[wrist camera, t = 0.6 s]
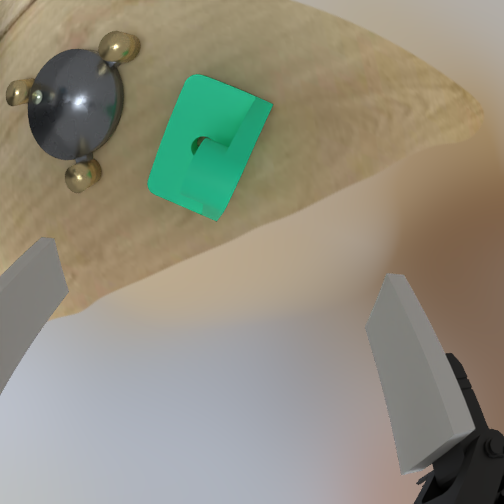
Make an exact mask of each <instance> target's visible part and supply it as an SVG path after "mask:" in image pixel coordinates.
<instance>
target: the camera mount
mask: <svg viewBox="0 0 504 504" xmlns="http://www.w3.org/2000/svg"><path fill="white" fill-rule="evenodd" d="M272 106H273V104H272V103H269V102H267V101H265V100H263V99H261V98H258V97H256V96H254V95H252V94H249V93H247V92H245V91H242V90H240V89H238V88H235V87H233V86H230V85H228V84H225V83H223V82H220V81H218V80H215V79H212V78H210V77H207V76H204V75H199V74H195V75H192V76H190V77H189V78H188V79H187V80H186V81H185V84H184V86H183V88H182V91H181V93H180V95H179V98H178V100H177V102H176V105H175V107H174V110H173V112H172V115H171V117H170V120H169V122H168V125H167V128H166V130H165V133H164V135H163V138H162V141H161V144H160V146H159V149H158V152H157V155H156V158H155V161H154V164H153V167H152V170H151V173H150V176H149V179H148V183H147V185H148V188H149V190H150V192H151V193H153V194H155V195H157V196H159V197H161V198H164V199H166V200H168V201H171V202H173V203H175V204H178V205H180V206H182V207H185V208H187V209H189V210H192V211H194V212H196V213H198V214H201V215H203V216H205V217H208V218H210V219H212V220H215V221H217V220H218V219H219V218H220V216H221V215H222V214H223V212H224V211H225V209H226V207H227V205H228V203H229V201H230V198H231V196H232V194H233V192H234V190H235V188H236V186H237V184H238V181H239V179H240V177H241V175H242V173H243V170H244V168H245V166H246V164H247V161H248V159H249V157H250V155H251V152H252V150H253V148H254V146H255V143H256V141H257V139H258V137H259V135H260V132H261V130H262V128H263V126H264V124H265V121H266V119H267V117H268V115H269V113H270V111H271V108H272ZM201 136H205V137H208V138H210V139H211V140H210V139H208V138H205V139H204V140H203V141H202V143H201V144H200V146H199V148H198V145H197V142H198V139H199V137H201Z"/></svg>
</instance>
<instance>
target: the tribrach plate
mask: <svg viewBox="0 0 504 504" xmlns="http://www.w3.org/2000/svg"><path fill="white" fill-rule="evenodd" d="M98 50H99V52H96V51H93V50H83V49H71V50H67V51H64V52H61V53H59V54H58V55H56V56H54V57H53V58H52V59H50V60H49V61H48V62H47V63H46V64H45V65H44V66H43V68H42V69H41V70H40V72H39V73H38V75H37V77H36V79H33V78H31V79H23V80H16V81H13V82H11V83H10V84H9V86H8V88H7V91H6V100H7V103H8V104H9V105H10V106H16V105H20V104H24V103H28V118H29V124H30V128H31V131H32V134H33V136H34V138H35V140H36V141H37V143H38V144H39V146H40V147H41V148H42V149H43V150H44V151H45V152H46V153H48V154H49V155H51V156H53V157H55V158H58V159H62V160H73V159H75V160H76V164H75V165H73V166H71V167H69V168H68V169H67V171H66V174H65V182H66V184H67V186H68V188H69V189H70V190H71V191H72V192H74V193H81V192H83V191H84V190H86V189H87V188H89V187H90V186H92V185H93V184H95V183H96V182H97V181H98V180H99V179H100V177H101V167H100V165H99V163H98V162H97V161H96V160H95V159H93V155H92V152H93V151H95V150H97V149H98V148H99V147H101V146H102V145H103V144H104V143H105V142H106V141H107V140H108V139H109V138H110V137H111V135H112V134H113V132H114V130H115V129H116V127H117V124H118V122H119V119H120V117H121V113H122V108H123V98H124V93H123V85H122V80H121V77H120V74H119V72H118V70H117V67H118V66H119V65H120V64H121V63H122V62H123V63H125V62H129V61H131V60H133V59H134V58H135V57H136V56H137V55H138V53H139V51H140V41H139V39H138V38H137V37H135V36H133V35H130V34H126V33H123V32H119V31H113V32H110V33H108V34H107V35H105V36H104V37H103V39H102V40H101V42H100V44H99V49H98Z"/></svg>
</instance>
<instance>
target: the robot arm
mask: <svg viewBox="0 0 504 504" xmlns="http://www.w3.org/2000/svg"><path fill="white" fill-rule="evenodd" d="M68 292H69V291H68V287H67V284H66V281H65V277H64V274H63V271H62V267H61V263H60V260H59V256H58V252H57V248H56V244H55V240H54V239H53V238H45V237H41V238H40V239H39V240H38V241H37V242H36V243H35V244H33V245H32V246H31V247H30V248H29V249H28V250H27V251H26V252H25V253H24V254H23V255H22V256H21V257H19V258H18V259H17V260H16V261H15V262H14V263H13V264H12V265H11V266H10V267H9V268H8V269H7V270H6V271H5V272H4V273H3V274H2V275H1V276H0V394H1V393H2V391H3V389H4V387H5V386H6V384H7V382H8V381H9V379H10V377H11V375H12V374H13V372H14V370H15V369H16V367H17V366H18V364H19V362H20V361H21V359H22V358H23V356H24V354H25V352H26V351H27V350H28V348H29V347H30V345H31V344H32V342H33V341H34V339H35V338H36V336H37V335H38V333H39V332H40V331H41V329H42V327H43V326H44V325H45V323H46V322H47V321H48V319H49V318H50V316H51V315H52V314H53V312H54V311H55V310H56V308H57V307H58V305H59V304H60V303H61V301H62V300H63V299H64V297H65V296H66V295H67V294H68ZM365 329H366V332H367V336H368V339H369V342H370V346H371V349H372V353H373V356H374V360H375V363H376V367H377V370H378V374H379V378H380V381H381V385H382V389H383V393H384V397H385V401H386V405H387V409H388V413H389V417H390V422H391V426H392V431H393V435H394V440H395V445H396V450H397V455H398V460H399V465H400V471H401V475H405V474H409V473H414V472H418V471H422V470H423V469H425V468H426V467H428V466H429V465H431V464H433V468H434V470H433V471H431V472H430V473H428V474H427V475H425V476H424V477H422V478H421V479H419V481H418V482H417V483H416V484H418V485H419V484H421V483H423V482H424V481H426V482H425V484H424V485H423V486H422V487H423V488H422V489H421V492H420V493H419V495H418V497H417V499H416V500H415V502H414V504H504V436H503V435H502V434H501V433H500V432H499V431H498V430H494V429H489V428H488V426H487V424H486V421H485V418H484V416H483V413H482V411H481V408H480V405H479V403H478V401H477V399H476V396H475V393H474V391H473V390H472V389H471V387H472V386H471V384H470V382H469V380H468V379H467V375H466V373H465V371H464V368H463V366H462V364H461V363H460V362H459V361H458V360H457V358H456V357H455V356H454V355H453V354H452V353H446V354H445V353H444V350H443V349H442V346H441V344H440V342H439V340H438V338H437V336H436V334H435V332H434V330H433V328H432V326H431V324H430V322H429V320H428V318H427V316H426V314H425V312H424V310H423V308H422V307H421V305H420V303H419V301H418V299H417V298H416V296H415V294H414V292H413V290H412V288H411V287H410V285H409V283H408V281H407V280H406V278H405V276H404V275H399V274H386V276H385V279H384V282H383V284H382V287H381V289H380V292H379V295H378V297H377V300H376V302H375V305H374V307H373V309H372V312H371V314H370V317H369V319H368V321H367V324H366V326H365Z"/></svg>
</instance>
